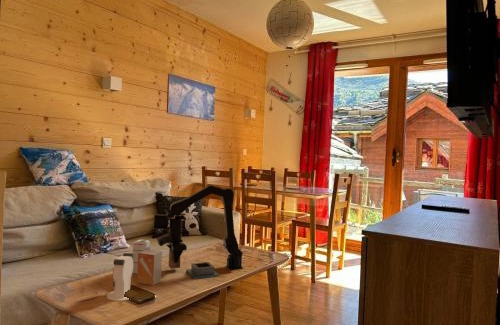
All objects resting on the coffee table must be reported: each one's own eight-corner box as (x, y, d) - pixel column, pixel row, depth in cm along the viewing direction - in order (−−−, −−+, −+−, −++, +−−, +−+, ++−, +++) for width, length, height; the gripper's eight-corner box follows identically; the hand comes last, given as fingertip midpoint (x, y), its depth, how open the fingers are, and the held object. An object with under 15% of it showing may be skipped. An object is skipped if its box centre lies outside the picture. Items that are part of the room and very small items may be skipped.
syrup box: (143, 274, 166) (144, 242, 166) (131, 273, 167) (132, 241, 167) (149, 270, 171) (150, 240, 171) (138, 269, 172) (139, 238, 172)
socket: (210, 268, 178) (210, 260, 178) (219, 276, 167) (219, 267, 167) (186, 271, 173) (186, 262, 172) (193, 279, 162) (194, 270, 162)
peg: (177, 265, 176) (178, 248, 176) (180, 267, 172) (180, 250, 172) (168, 266, 174) (169, 249, 174) (170, 268, 170) (171, 251, 170)
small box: (136, 283, 154) (137, 252, 154) (145, 278, 160) (146, 249, 160) (153, 285, 152) (154, 254, 152) (161, 281, 158) (162, 251, 158)
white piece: (114, 288, 147) (115, 251, 147) (142, 290, 147) (143, 252, 147) (101, 300, 135) (102, 259, 135) (131, 301, 135) (133, 261, 135)
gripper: (154, 225, 178) (153, 257, 178) (163, 233, 161) (161, 268, 161) (177, 224, 182) (175, 255, 183) (187, 232, 166) (186, 266, 166)
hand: (174, 261), depth 173 cm, fingers closed on peg, 4 cm apart
